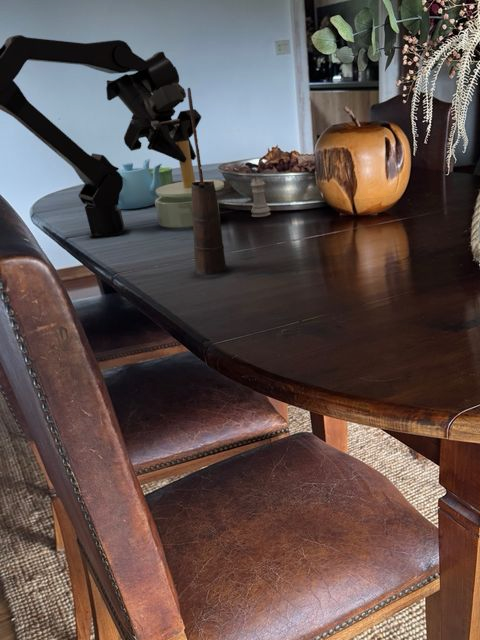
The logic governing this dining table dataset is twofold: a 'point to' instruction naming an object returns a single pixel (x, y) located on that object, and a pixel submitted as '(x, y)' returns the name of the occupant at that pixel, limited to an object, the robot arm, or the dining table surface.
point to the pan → (175, 211)
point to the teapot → (138, 186)
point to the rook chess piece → (259, 199)
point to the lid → (184, 177)
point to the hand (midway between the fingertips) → (190, 159)
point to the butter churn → (205, 219)
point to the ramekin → (164, 175)
